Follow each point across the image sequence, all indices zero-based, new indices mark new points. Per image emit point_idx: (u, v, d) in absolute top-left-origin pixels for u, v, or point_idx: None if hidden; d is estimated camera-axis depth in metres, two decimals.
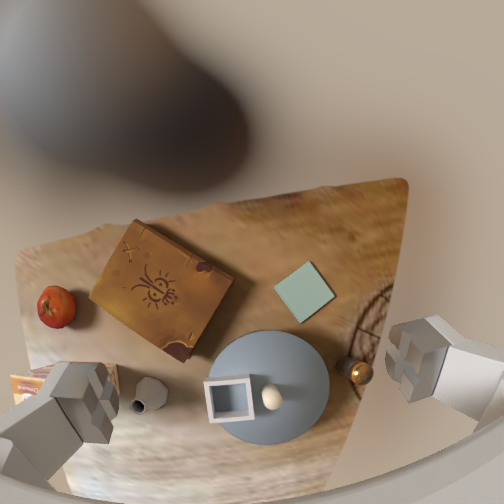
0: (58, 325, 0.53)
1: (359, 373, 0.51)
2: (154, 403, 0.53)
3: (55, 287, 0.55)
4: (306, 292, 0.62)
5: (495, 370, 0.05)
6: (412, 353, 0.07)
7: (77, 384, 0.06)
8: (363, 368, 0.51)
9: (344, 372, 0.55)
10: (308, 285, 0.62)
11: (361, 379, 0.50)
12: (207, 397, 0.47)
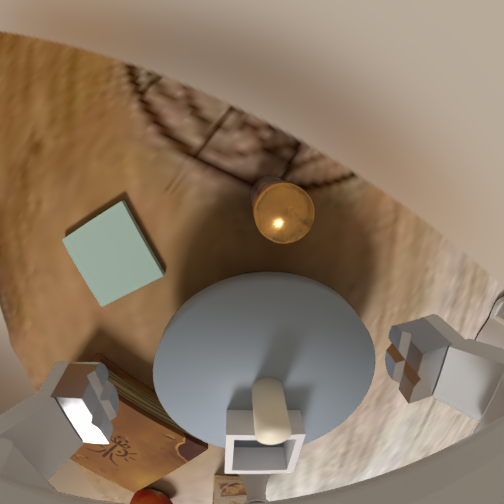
0: None
1: (279, 223, 0.22)
2: None
3: None
4: (110, 254, 0.31)
5: (495, 370, 0.05)
6: (412, 353, 0.07)
7: (77, 384, 0.06)
8: (268, 209, 0.21)
9: None
10: (98, 248, 0.31)
11: (297, 220, 0.22)
12: (250, 472, 0.28)
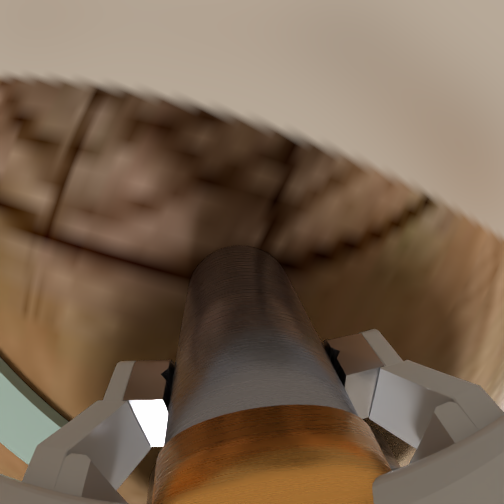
0: None
1: None
2: None
3: None
4: (1, 413, 0.13)
5: (432, 399, 0.05)
6: None
7: (152, 384, 0.06)
8: None
9: None
10: None
11: None
12: None
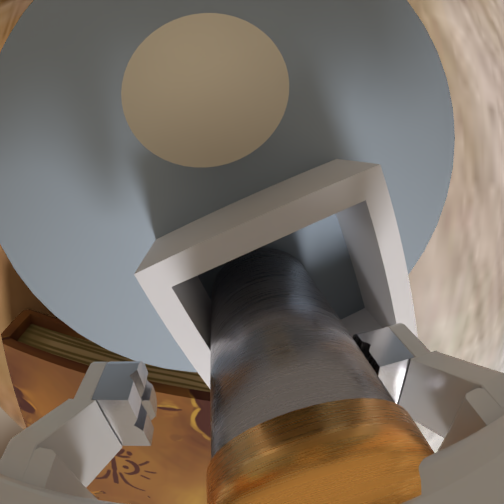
0: None
1: None
2: None
3: None
4: None
5: (460, 387, 0.05)
6: (371, 364, 0.07)
7: (120, 385, 0.06)
8: None
9: None
10: None
11: None
12: None
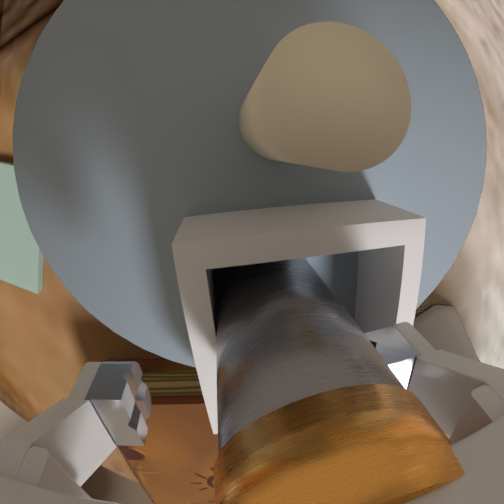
0: None
1: None
2: (459, 347, 0.20)
3: None
4: None
5: (466, 384, 0.05)
6: None
7: (113, 385, 0.06)
8: None
9: None
10: None
11: None
12: None
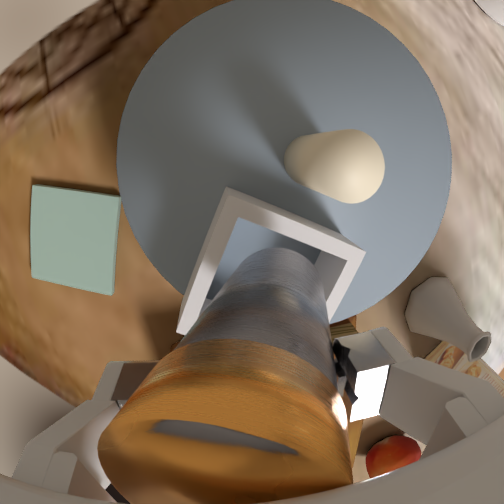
0: (414, 452, 0.34)
1: None
2: (452, 308, 0.26)
3: None
4: (67, 237, 0.24)
5: (442, 395, 0.05)
6: None
7: None
8: (147, 473, 0.04)
9: None
10: (55, 244, 0.24)
11: None
12: None
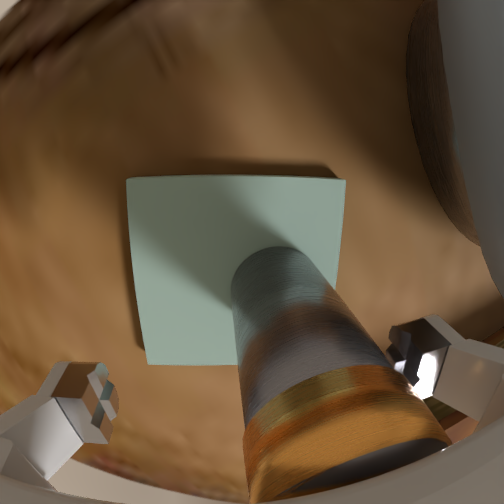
0: None
1: None
2: None
3: None
4: (232, 276, 0.13)
5: (495, 370, 0.05)
6: (412, 353, 0.07)
7: (77, 384, 0.06)
8: None
9: None
10: (202, 295, 0.13)
11: None
12: None
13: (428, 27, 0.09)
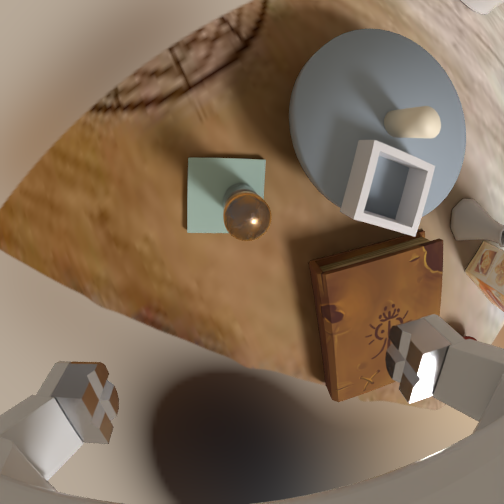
0: None
1: (242, 224, 0.28)
2: (481, 215, 0.37)
3: None
4: (223, 193, 0.36)
5: (495, 370, 0.05)
6: (412, 353, 0.07)
7: (77, 384, 0.06)
8: (235, 212, 0.27)
9: None
10: (212, 201, 0.37)
11: (256, 224, 0.28)
12: (379, 223, 0.28)
13: None
